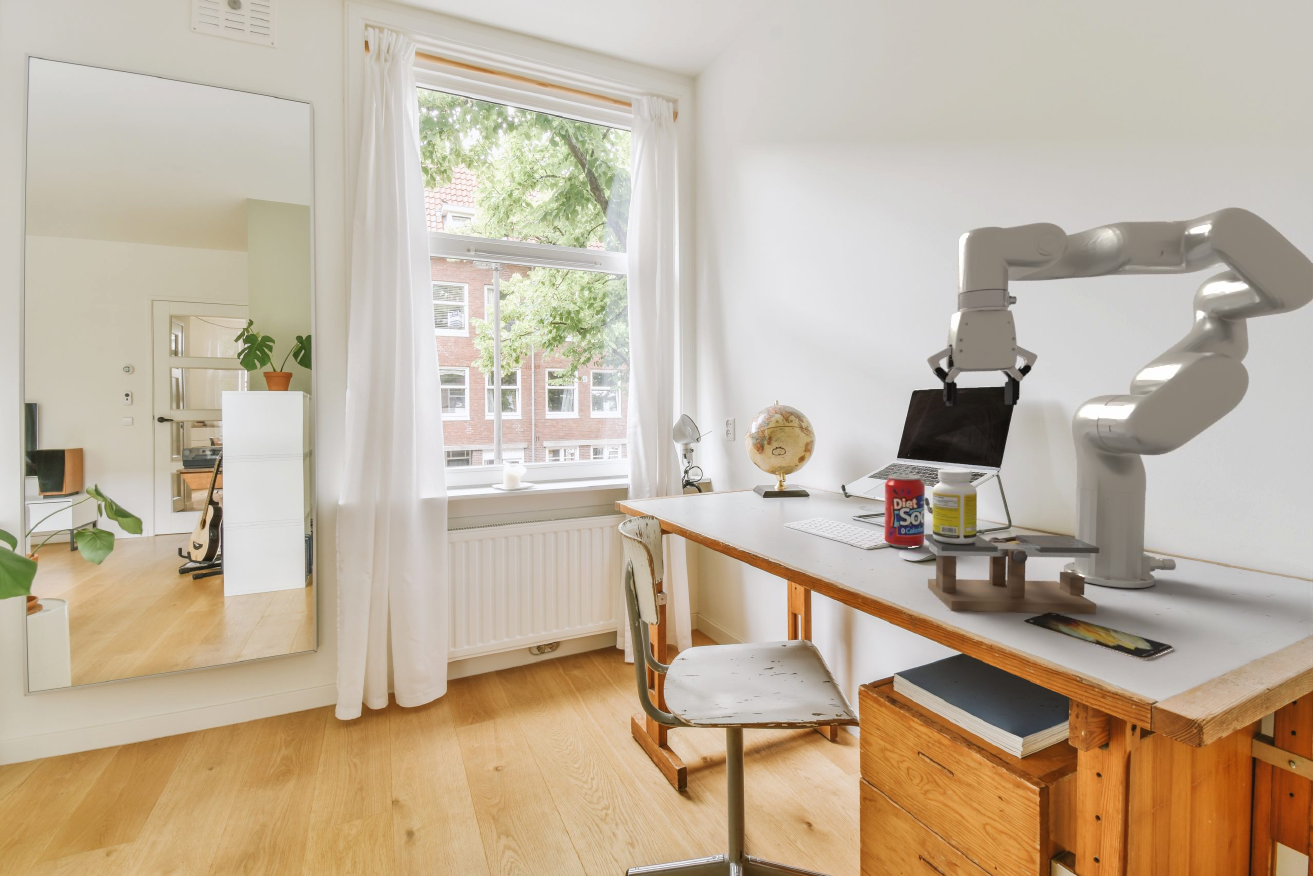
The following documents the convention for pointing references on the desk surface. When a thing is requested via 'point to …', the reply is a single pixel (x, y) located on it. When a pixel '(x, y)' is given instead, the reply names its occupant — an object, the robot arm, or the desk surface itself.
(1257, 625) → the desk surface
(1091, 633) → the smartphone
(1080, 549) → the beam
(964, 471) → the pill bottle
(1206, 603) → the desk surface
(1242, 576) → the desk surface
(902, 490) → the soda can
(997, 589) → the stand
